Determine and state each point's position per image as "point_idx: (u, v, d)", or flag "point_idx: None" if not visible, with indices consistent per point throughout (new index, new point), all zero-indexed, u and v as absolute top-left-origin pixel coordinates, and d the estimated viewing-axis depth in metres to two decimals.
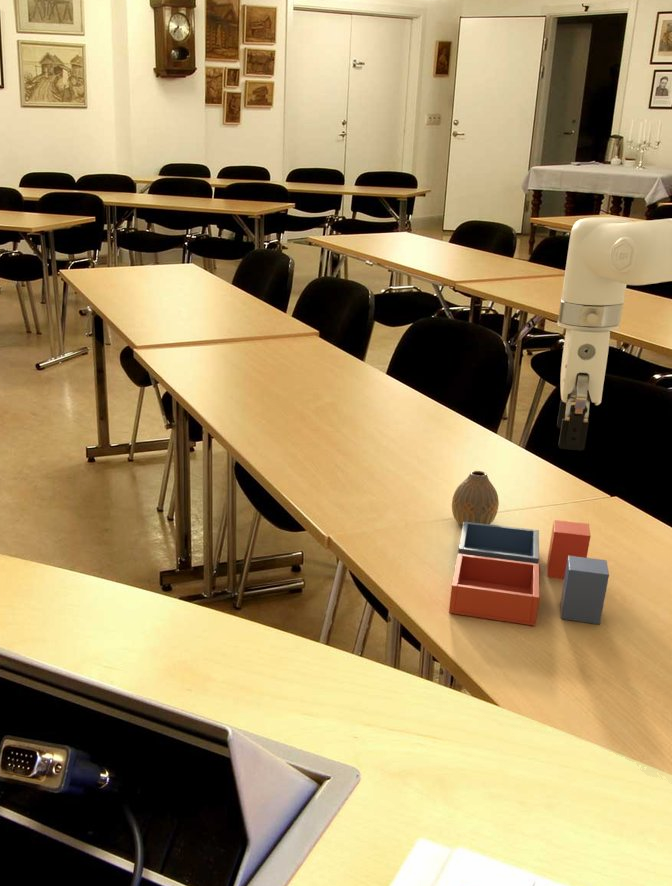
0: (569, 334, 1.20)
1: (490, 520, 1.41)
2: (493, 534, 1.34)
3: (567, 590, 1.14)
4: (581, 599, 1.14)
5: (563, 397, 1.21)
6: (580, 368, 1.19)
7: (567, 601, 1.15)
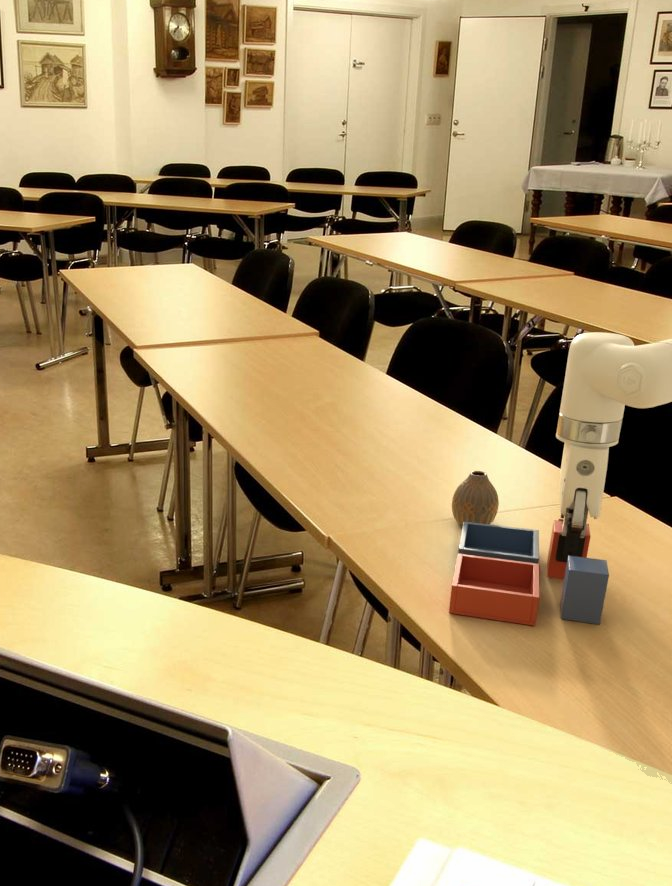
0: (568, 448, 1.19)
1: (490, 520, 1.41)
2: (493, 534, 1.34)
3: (567, 590, 1.14)
4: (581, 599, 1.14)
5: (562, 510, 1.20)
6: (579, 483, 1.18)
7: (567, 601, 1.15)
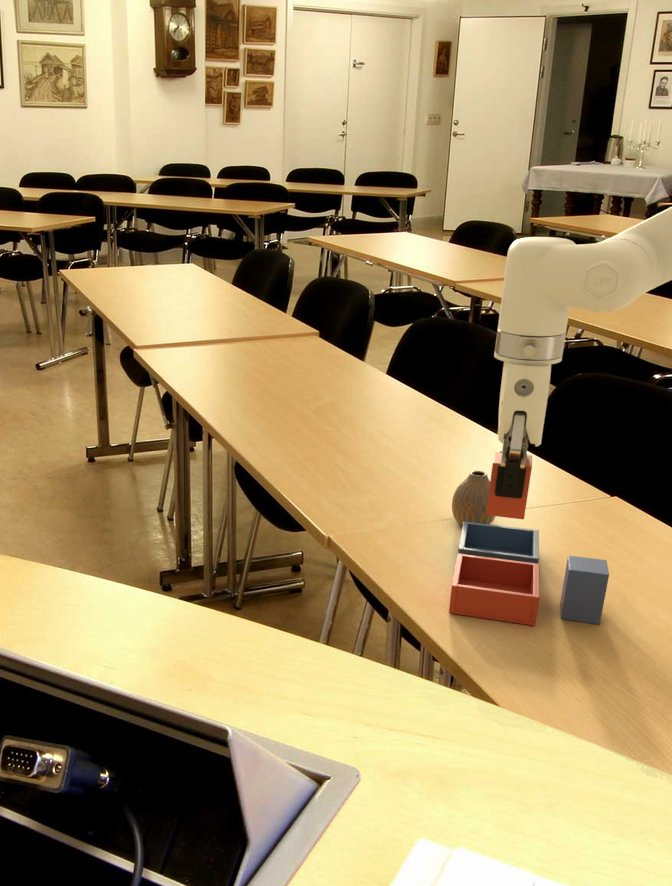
0: (506, 367, 1.07)
1: (490, 520, 1.41)
2: (493, 534, 1.34)
3: (567, 590, 1.14)
4: (581, 599, 1.14)
5: (499, 437, 1.09)
6: (517, 406, 1.06)
7: (567, 601, 1.15)
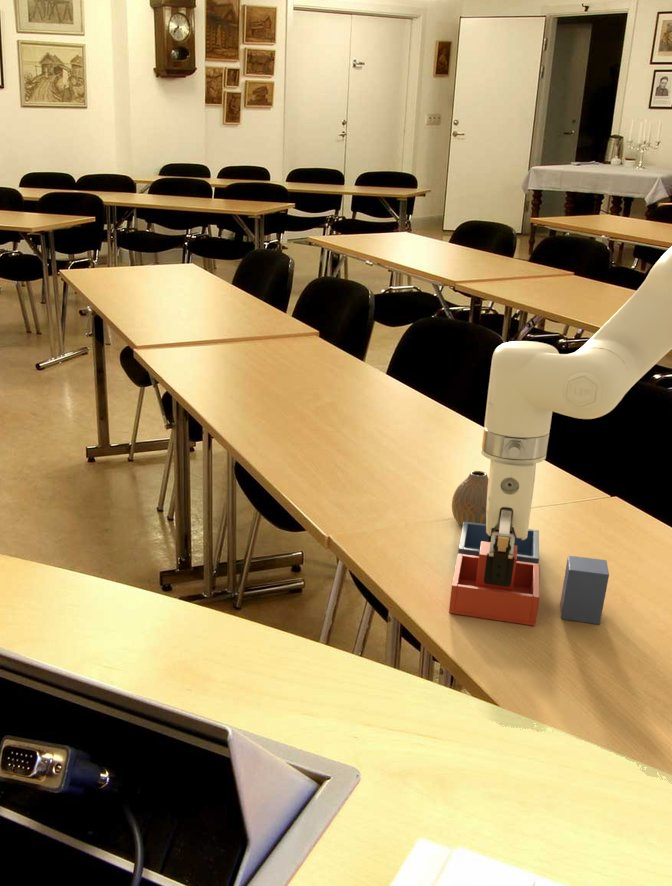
0: (492, 465, 1.11)
1: None
2: None
3: (567, 590, 1.14)
4: (581, 599, 1.14)
5: (487, 531, 1.13)
6: (503, 502, 1.10)
7: (567, 601, 1.15)
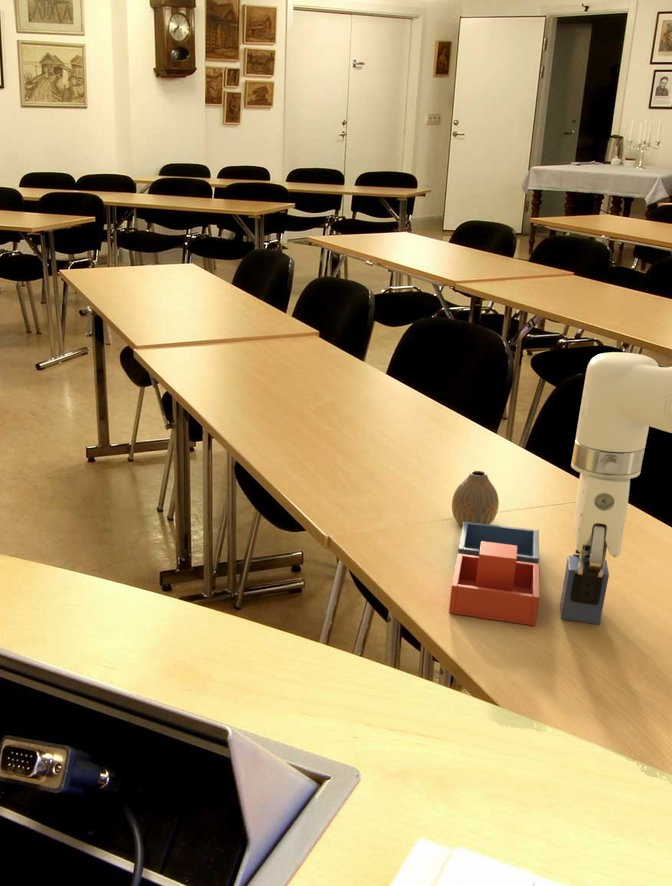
0: (585, 480, 1.08)
1: (490, 520, 1.41)
2: (493, 534, 1.34)
3: (567, 590, 1.14)
4: None
5: (578, 547, 1.09)
6: (597, 518, 1.07)
7: (567, 601, 1.15)
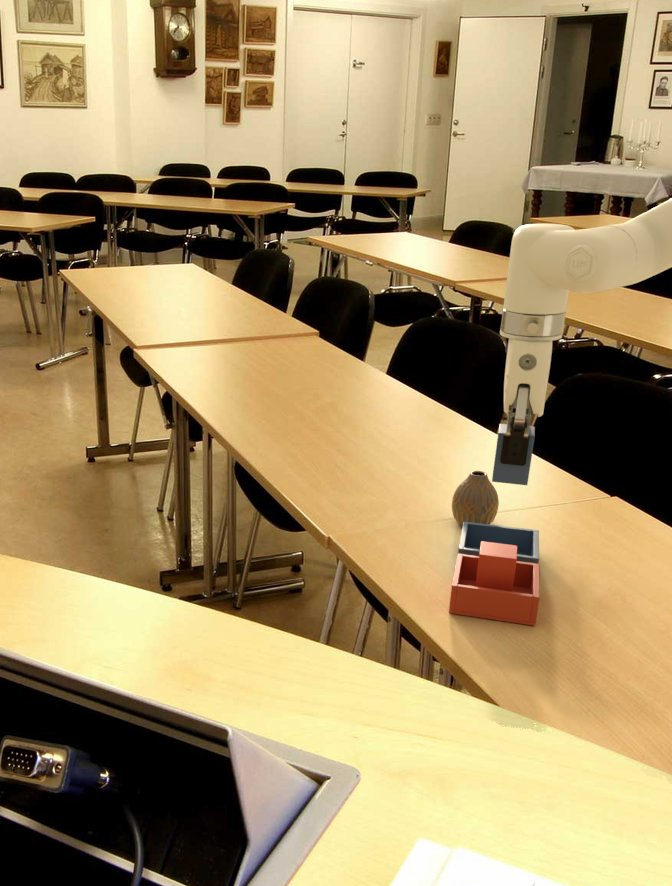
0: (510, 344, 1.16)
1: (490, 520, 1.41)
2: (493, 534, 1.34)
3: (497, 453, 1.23)
4: None
5: (505, 408, 1.18)
6: (521, 379, 1.15)
7: (497, 464, 1.23)
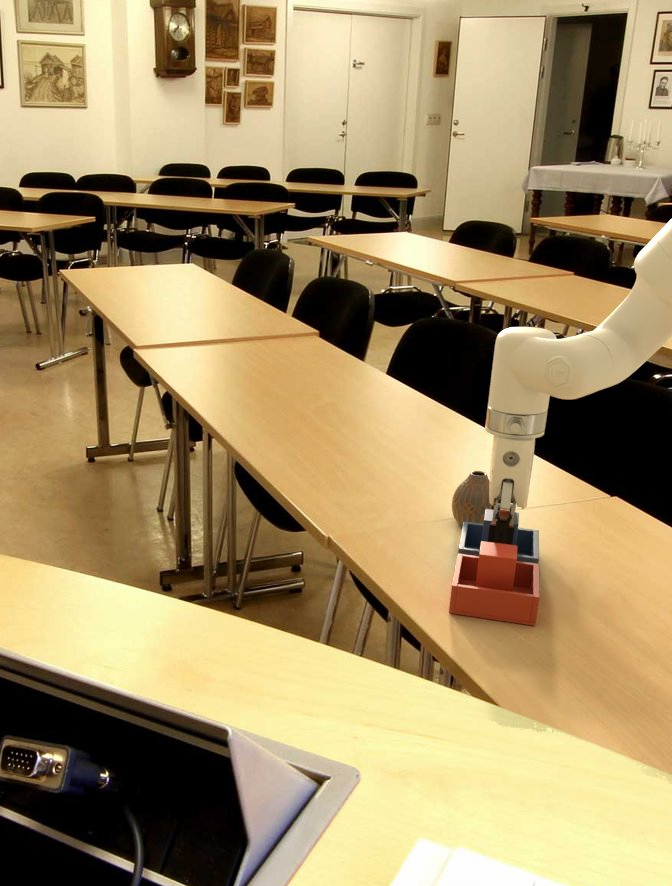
0: (495, 440, 1.22)
1: None
2: None
3: (483, 539, 1.28)
4: None
5: (490, 500, 1.23)
6: (505, 474, 1.21)
7: None
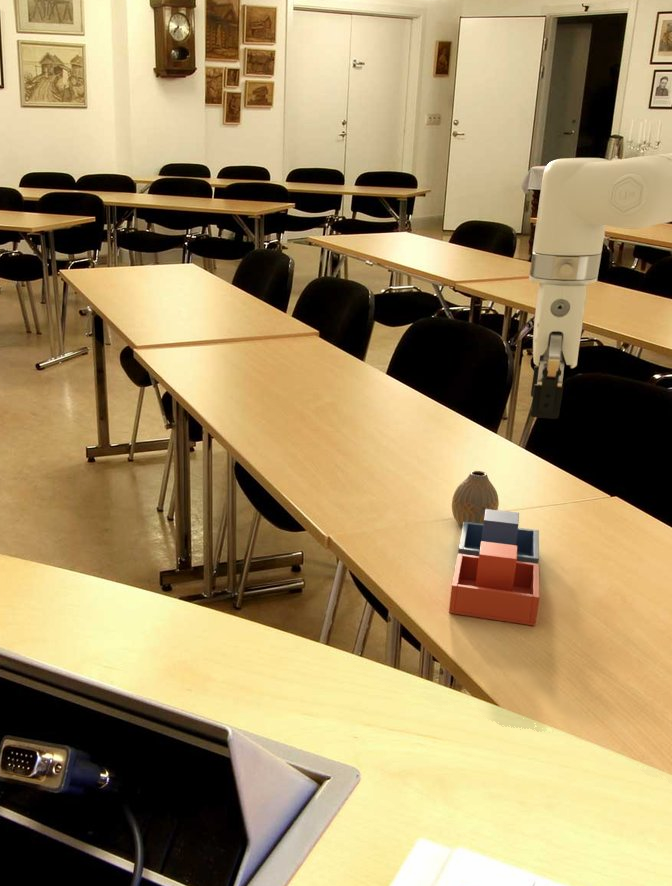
0: (541, 289, 1.08)
1: None
2: None
3: (483, 539, 1.28)
4: None
5: (535, 359, 1.09)
6: (553, 326, 1.07)
7: None
